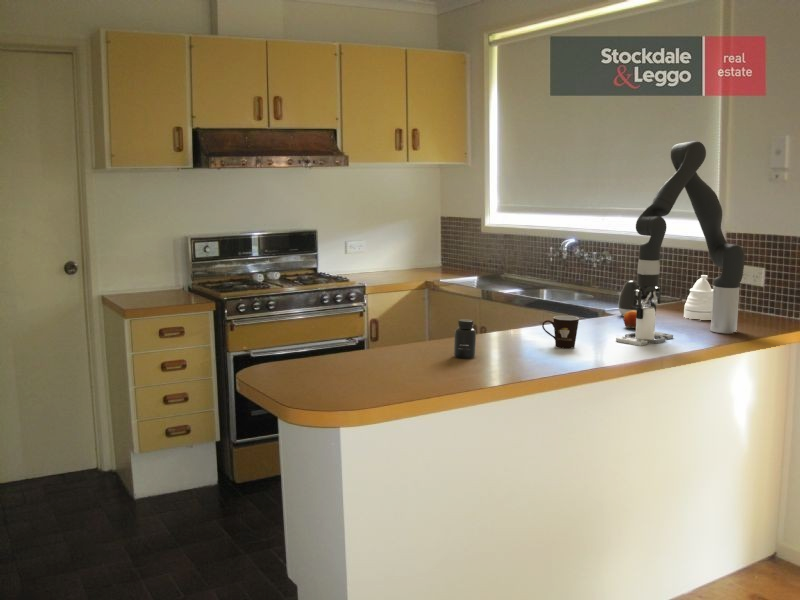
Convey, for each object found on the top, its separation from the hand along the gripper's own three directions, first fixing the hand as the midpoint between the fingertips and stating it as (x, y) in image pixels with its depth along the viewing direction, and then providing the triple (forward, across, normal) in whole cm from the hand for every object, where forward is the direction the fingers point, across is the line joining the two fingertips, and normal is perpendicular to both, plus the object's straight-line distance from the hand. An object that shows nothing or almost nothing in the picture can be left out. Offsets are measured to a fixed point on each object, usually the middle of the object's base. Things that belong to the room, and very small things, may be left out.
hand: (646, 317), depth 301 cm
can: (+8, 0, 0) cm, 8 cm away
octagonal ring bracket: (+8, 0, 0) cm, 8 cm away
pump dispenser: (+8, -40, -31) cm, 51 cm away
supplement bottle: (+8, +70, -23) cm, 74 cm away
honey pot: (+8, -59, -10) cm, 60 cm away
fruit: (+8, -17, -15) cm, 24 cm away
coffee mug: (+8, +32, -13) cm, 36 cm away
